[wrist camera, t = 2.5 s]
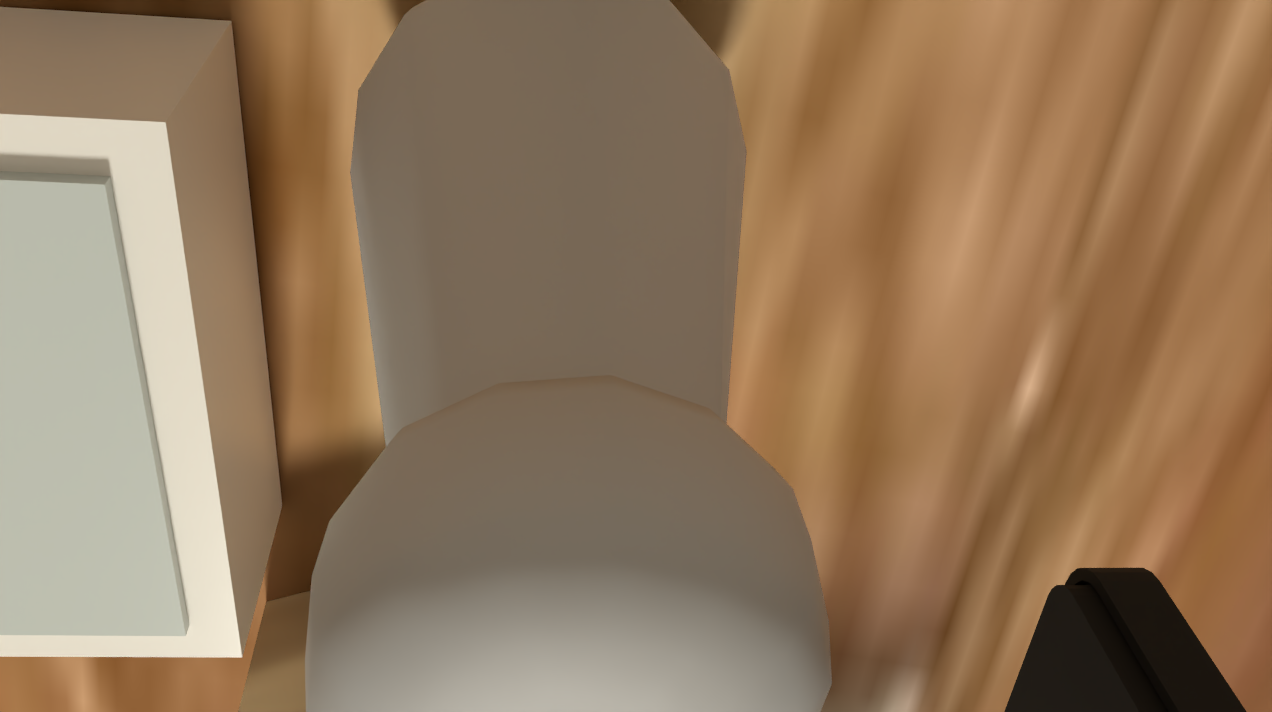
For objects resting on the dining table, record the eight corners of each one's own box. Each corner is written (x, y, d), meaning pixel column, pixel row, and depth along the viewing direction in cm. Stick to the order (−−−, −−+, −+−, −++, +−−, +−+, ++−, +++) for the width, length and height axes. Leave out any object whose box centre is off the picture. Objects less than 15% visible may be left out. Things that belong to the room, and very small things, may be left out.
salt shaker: (326, 184, 20) (89, 905, 9) (436, -145, 17) (279, 345, 7) (638, 292, 22) (741, 1011, 11) (785, 8, 19) (1115, 600, 8)
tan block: (266, 598, 26) (227, 754, 22) (442, 554, 25) (428, 705, 22) (340, 713, 28) (314, 869, 24) (502, 673, 27) (497, 826, 24)
